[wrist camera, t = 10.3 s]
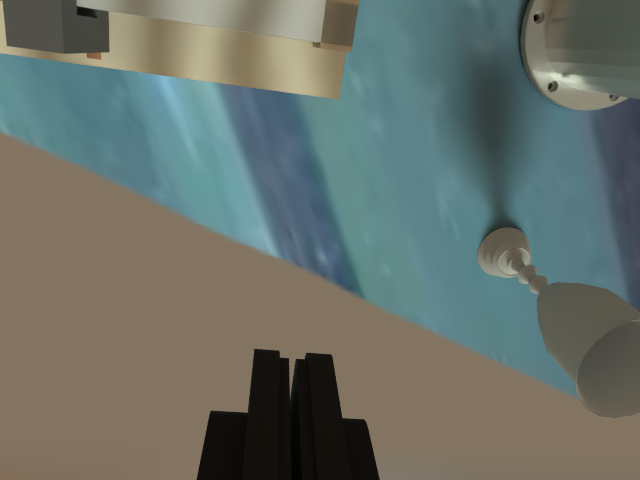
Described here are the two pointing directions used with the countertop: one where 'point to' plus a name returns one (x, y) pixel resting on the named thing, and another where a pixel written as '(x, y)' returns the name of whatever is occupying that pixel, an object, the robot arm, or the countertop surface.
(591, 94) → the robot arm
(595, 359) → the chalice
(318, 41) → the pipe rig
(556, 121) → the countertop surface
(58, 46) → the collar
